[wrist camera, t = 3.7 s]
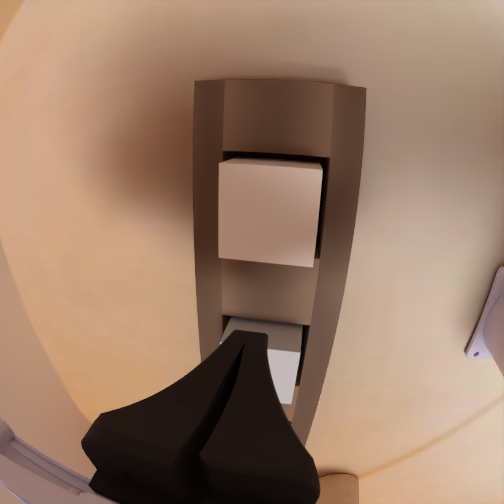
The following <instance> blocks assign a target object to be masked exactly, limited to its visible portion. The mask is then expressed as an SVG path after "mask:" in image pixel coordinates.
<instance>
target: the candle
mask: <svg viewBox="0 0 504 504" xmlns="http://www.w3.org/2000/svg"><path fill="white" fill-rule="evenodd" d="M319 481H320V497H319V499H318V501H317V502H316V504H359V482H358V478H357V477H355V476H353V475H350V474H331V475H327V476H323V477H321V478H319Z"/></svg>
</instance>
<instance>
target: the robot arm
mask: <svg viewBox="0 0 504 504" xmlns="http://www.w3.org/2000/svg"><path fill="white" fill-rule="evenodd" d="M267 352H268V335H267V334H266V333H261V332H252V331H244V330H236V329H235V330H234V331H232V332H231V334H230V335H229V336H228V337H227V338H226V339H225V340H224V341H223V342H222V343H221V344H220V345H219V347H218V348H217V349H216V350H214V351H213V352H212V353H211V354H210V355H209V356H208V357H207V358H206V359H205V360H204V361H203V362H202V363H200V364H199V365H198V366H197V367H196V368H194V369H193V370H192V371H191V372H189V373H188V374H187V375H185V376H184V377H183V378H181V379H180V380H178V381H177V382H175V383H174V384H172V385H170V386H169V387H167V388H165V389H163V390H162V391H160V392H158V393H156V394H154V395H152V396H150V397H148V398H146V399H144V400H141V401H139V402H136V403H134V404H131V405H128V406H126V407H122V408H119V409H116V410H112V411H109V412H105V413H101V414H100V415H99V417H98V418H97V419H96V420H95V421H94V423H93V424H92V426H91V427H90V429H89V430H88V432H87V433H86V435H85V436H84V438H83V439H82V441H81V445H82V448H83V450H84V452H85V453H86V455H87V456H88V457H89V459H90V460H91V462H92V463H93V465H94V466H95V467H96V469H97V471H96V472H95V474H94V476H93V477H92V479H89V478H87V477H85V476H83V475H81V474H79V473H77V472H75V471H73V470H71V469H69V468H68V467H66V466H64V465H62V464H60V463H59V462H57V461H55V460H53V459H52V458H50V457H48V456H46V455H45V454H43V453H42V452H40V451H39V450H37V449H35V448H33V447H32V446H31V445H29V444H27V443H26V442H24V441H23V440H22V439H20V438H19V437H17V436H16V435H15V434H14V432H13V430H12V429H11V428H10V427H9V425H8V424H7V423H6V422H5V421H3V420H2V419H1V418H0V484H1V485H2V486H3V487H4V488H6V489H7V490H8V491H9V492H10V493H12V494H13V495H14V496H15V497H17V498H18V499H19V500H21V501H22V502H23V503H25V504H316V502H317V501H318V499H319V497H320V481H319V477H318V473H317V469H316V466H315V463H314V460H313V458H312V457H311V455H310V454H309V453H308V451H307V450H306V448H305V447H304V446H303V444H302V443H301V441H300V440H299V438H298V436H297V435H296V433H295V431H294V430H293V428H292V426H291V424H290V422H289V420H288V418H287V416H286V414H285V412H284V410H283V408H282V405H281V403H280V400H279V398H278V395H277V392H276V389H275V386H274V383H273V379H272V375H271V371H270V366H269V361H268V353H267ZM465 355H466V357H467V358H468V359H476V358H493V359H494V361H495V362H496V364H497V366H498V367H499V369H500V371H501V373H502V374H503V376H504V266H502V267H500V268H499V269H498V271H497V273H496V276H495V279H494V282H493V285H492V288H491V291H490V294H489V297H488V300H487V303H486V305H485V308H484V310H483V313H482V316H481V318H480V321H479V323H478V325H477V328H476V330H475V333H474V335H473V337H472V339H471V342H470V344H469V346H468V348H467V350H466V353H465Z"/></svg>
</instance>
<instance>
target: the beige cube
mask: <svg viewBox="0 0 504 504" xmlns="http://www.w3.org/2000/svg"><path fill="white" fill-rule="evenodd" d="M322 173H323V170H322V167H321V165H320V162H309V161H298V160H285V159H270V158H251V157H236V158H233V159H230V160H227V161H224V162H221V163H219V209H218V251H219V258H226V259H235V260H245V261H254V262H264V263H274V264H283V265H293V266H303V267H313V263H314V254H315V246H316V237H317V227H318V218H319V207H320V196H321V185H322Z"/></svg>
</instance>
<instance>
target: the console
mask: <svg viewBox="0 0 504 504" xmlns="http://www.w3.org/2000/svg"><path fill="white" fill-rule="evenodd" d="M365 109H366V88H363V87H356V86H348V85H340V84H331V83H321V82H308V81H293V80H267V79H232V80H206V81H195V89H194V122H193V218H194V252H195V276H196V295H197V312H198V327H199V341H200V354H201V363H202V362H203V361H204V360H205V359H206V358H207V357H208V356H209V355H210V354H211V353H212V352H213V351H214V350H216V349H217V348H218V347H219V345H220V341H221V339H222V336H223V334H224V332H225V330H226V327H227V325H228V323H229V320H230V318H231V316H236V317H243V318H251V319H259V320H267V321H275V322H284V323H293V324H303V325H307V326H306V332H305V338H304V344H303V350H302V353H300V359H299V365H298V370H297V376H296V382H295V387H294V392H293V398H292V403H291V404H283V403H281V405H282V408H283V410H284V412H285V414H286V416H287V418H288V420H289V422H290V424H291V426H292V428H293V430H294V431H295V433H296V435H297V436H298V438H299V440H300V441H301V443H302V444H303V446H304V447H305V444H306V441H307V438H308V435H309V432H310V428H311V425H312V422H313V418H314V415H315V412H316V408H317V405H318V401H319V397H320V394H321V390H322V386H323V383H324V379H325V375H326V371H327V367H328V363H329V359H330V355H331V350H332V346H333V342H334V337H335V333H336V328H337V324H338V319H339V314H340V309H341V304H342V299H343V294H344V289H345V283H346V278H347V272H348V266H349V260H350V254H351V248H352V241H353V234H354V227H355V220H356V212H357V204H358V196H359V187H360V177H361V167H362V156H363V143H364V128H365ZM239 151H246V152H266V153H283V154H296V155H308V156H319V157H326V159H325V173H324V185H323V196H322V207H321V217H320V227H319V236H318V237H316V246H315V254H314V263H313V267H303V266H293V265H283V264H274V263H264V262H254V261H245V260H235V259H226V258H219V251H218V209H219V163H221V162H224V161H227V160H230V159H233V158H236V157H239Z"/></svg>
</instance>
